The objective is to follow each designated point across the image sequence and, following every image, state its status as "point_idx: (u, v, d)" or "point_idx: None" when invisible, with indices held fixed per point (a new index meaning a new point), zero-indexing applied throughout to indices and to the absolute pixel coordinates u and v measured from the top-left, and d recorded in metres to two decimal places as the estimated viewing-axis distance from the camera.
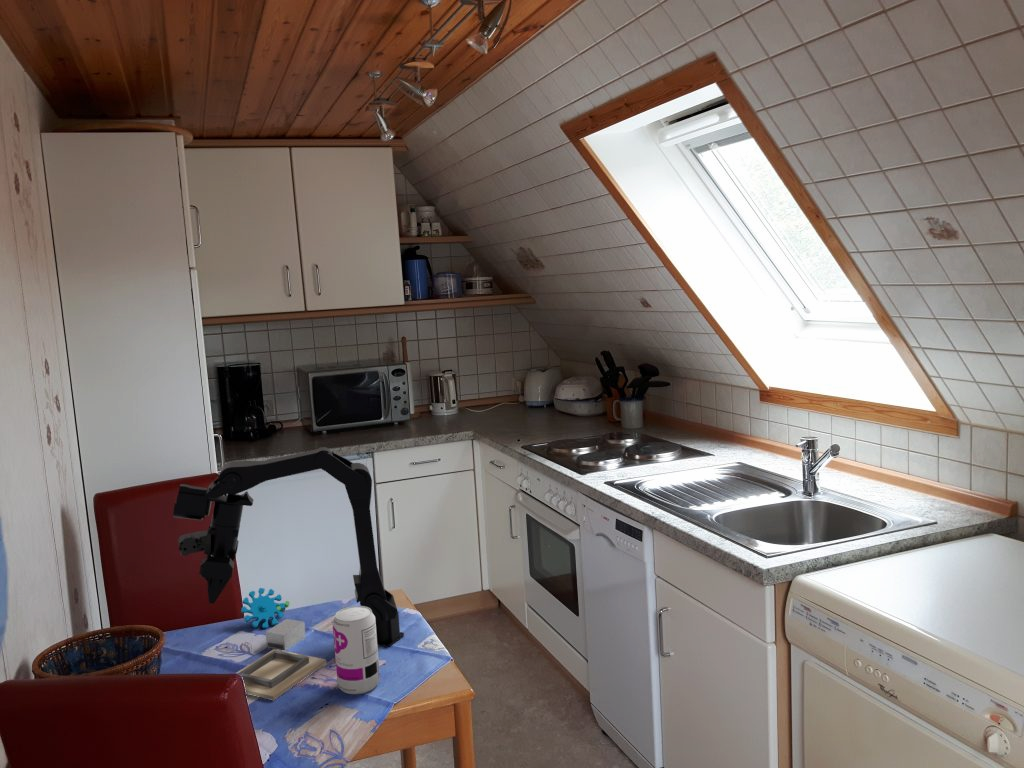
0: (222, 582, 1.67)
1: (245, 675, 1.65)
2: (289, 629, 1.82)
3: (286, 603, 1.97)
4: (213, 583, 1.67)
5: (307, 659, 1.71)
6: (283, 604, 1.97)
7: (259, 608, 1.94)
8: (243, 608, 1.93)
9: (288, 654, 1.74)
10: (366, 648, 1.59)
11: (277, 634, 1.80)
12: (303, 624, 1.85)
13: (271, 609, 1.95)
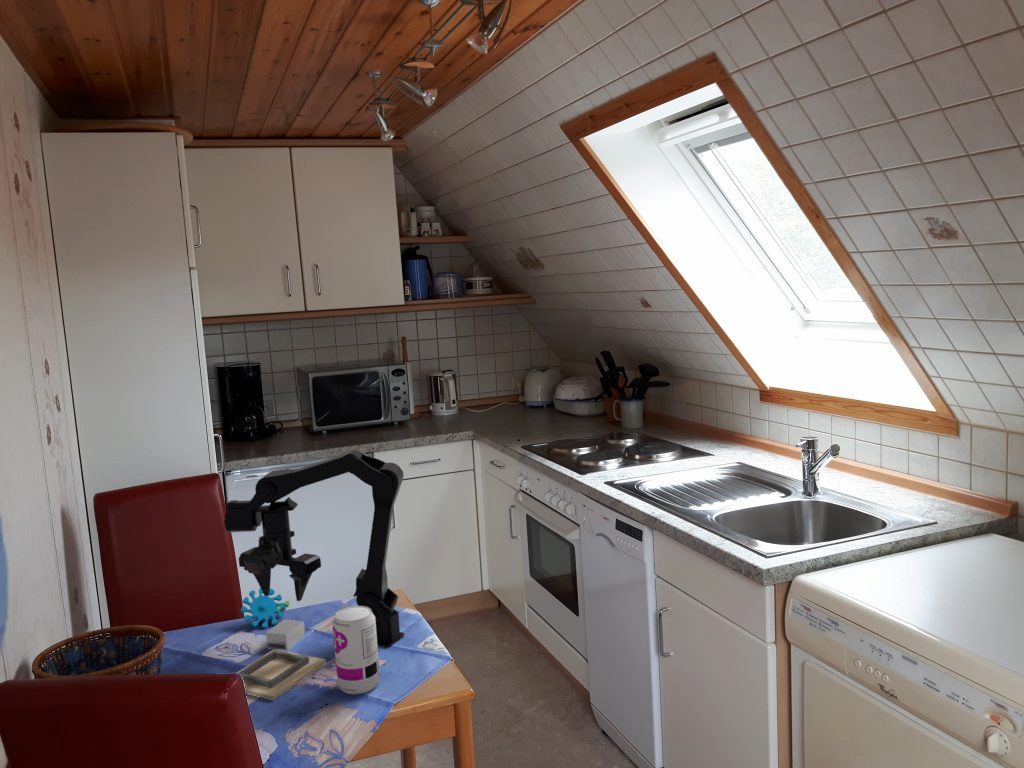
0: (307, 576, 1.81)
1: (245, 675, 1.65)
2: (290, 629, 1.82)
3: (286, 603, 1.97)
4: (301, 581, 1.79)
5: (307, 659, 1.71)
6: (283, 604, 1.97)
7: (259, 608, 1.94)
8: (243, 608, 1.93)
9: (288, 654, 1.74)
10: (366, 648, 1.59)
11: (278, 634, 1.80)
12: (302, 624, 1.86)
13: (271, 609, 1.95)
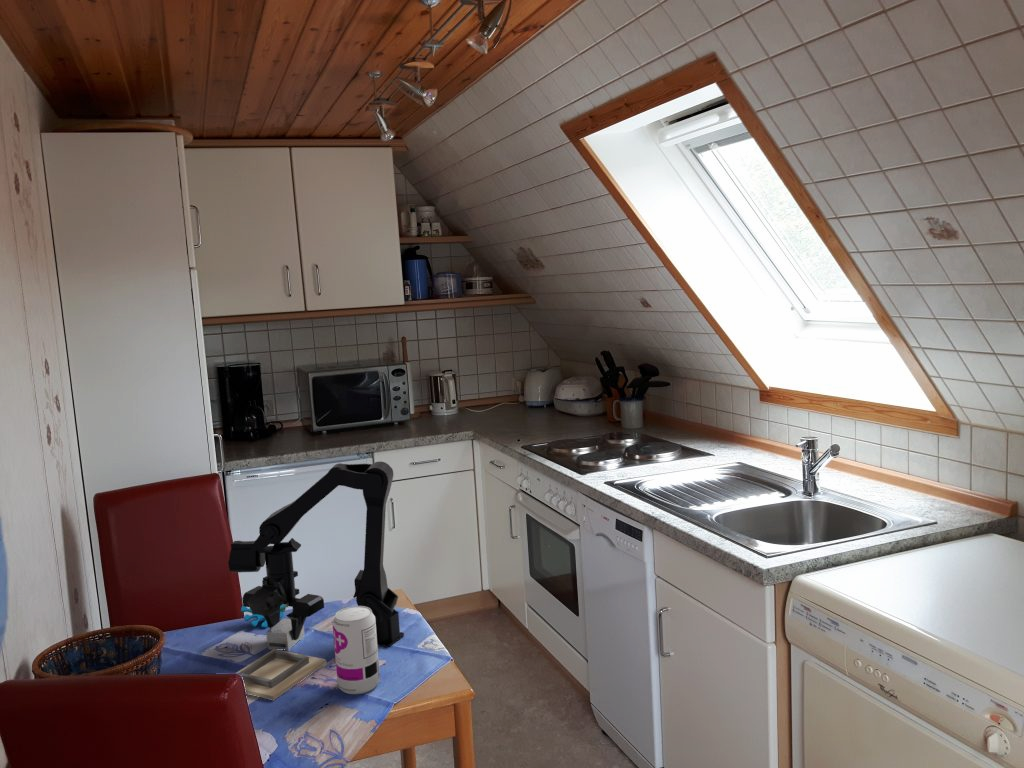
0: None
1: (245, 675, 1.65)
2: (290, 628, 1.82)
3: None
4: (298, 620, 1.81)
5: (307, 659, 1.71)
6: None
7: None
8: (243, 607, 1.93)
9: (288, 654, 1.74)
10: (366, 648, 1.59)
11: (279, 633, 1.80)
12: None
13: None
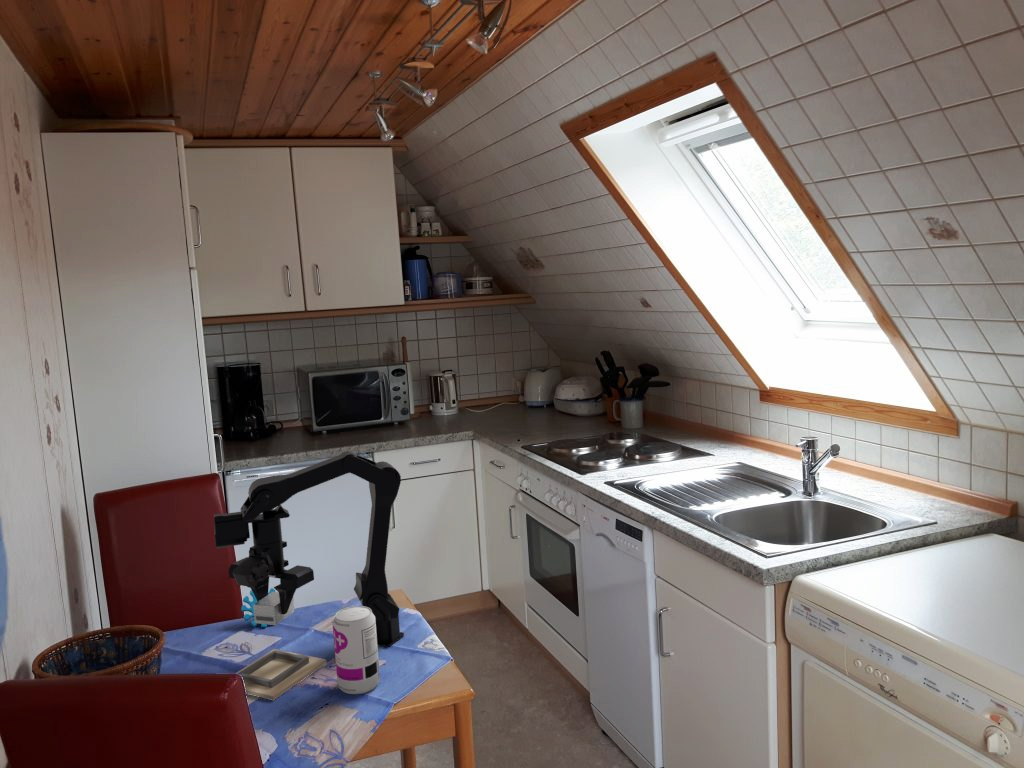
0: None
1: (245, 675, 1.65)
2: (278, 601, 1.72)
3: None
4: (286, 593, 1.71)
5: (307, 659, 1.71)
6: None
7: None
8: (243, 607, 1.93)
9: (288, 654, 1.74)
10: (366, 648, 1.59)
11: (266, 606, 1.70)
12: None
13: None
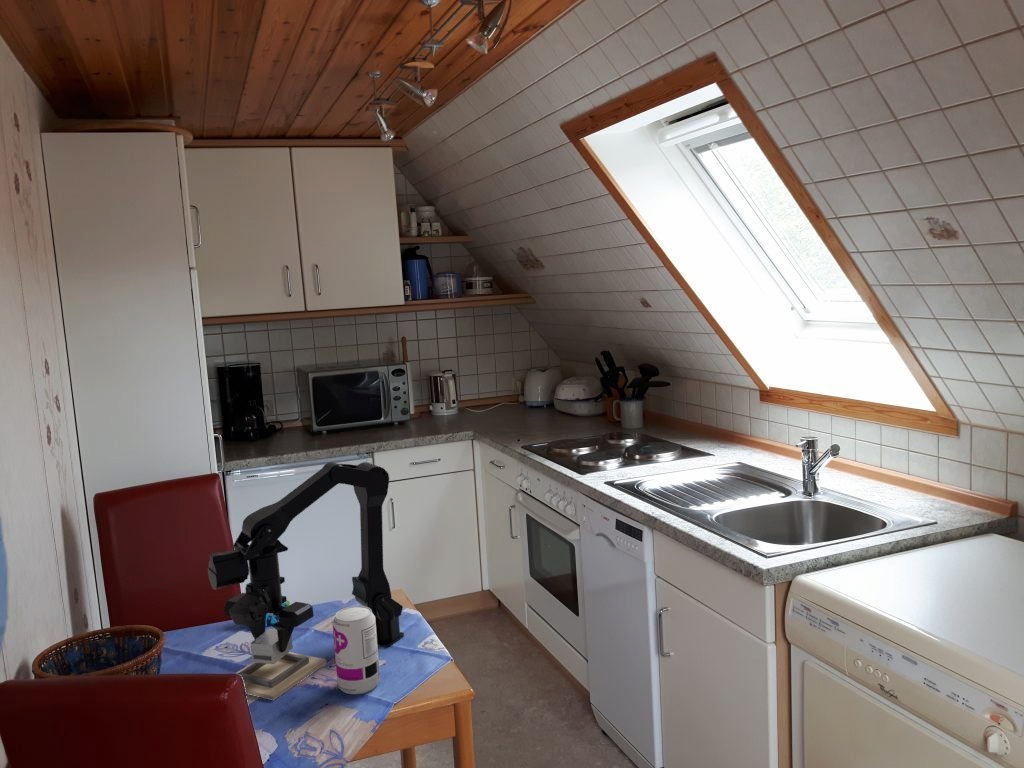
0: None
1: (245, 675, 1.65)
2: (276, 639, 1.67)
3: (286, 603, 1.98)
4: (284, 630, 1.66)
5: (307, 659, 1.71)
6: (283, 603, 1.97)
7: None
8: None
9: (288, 654, 1.74)
10: (366, 648, 1.59)
11: (264, 645, 1.64)
12: None
13: None
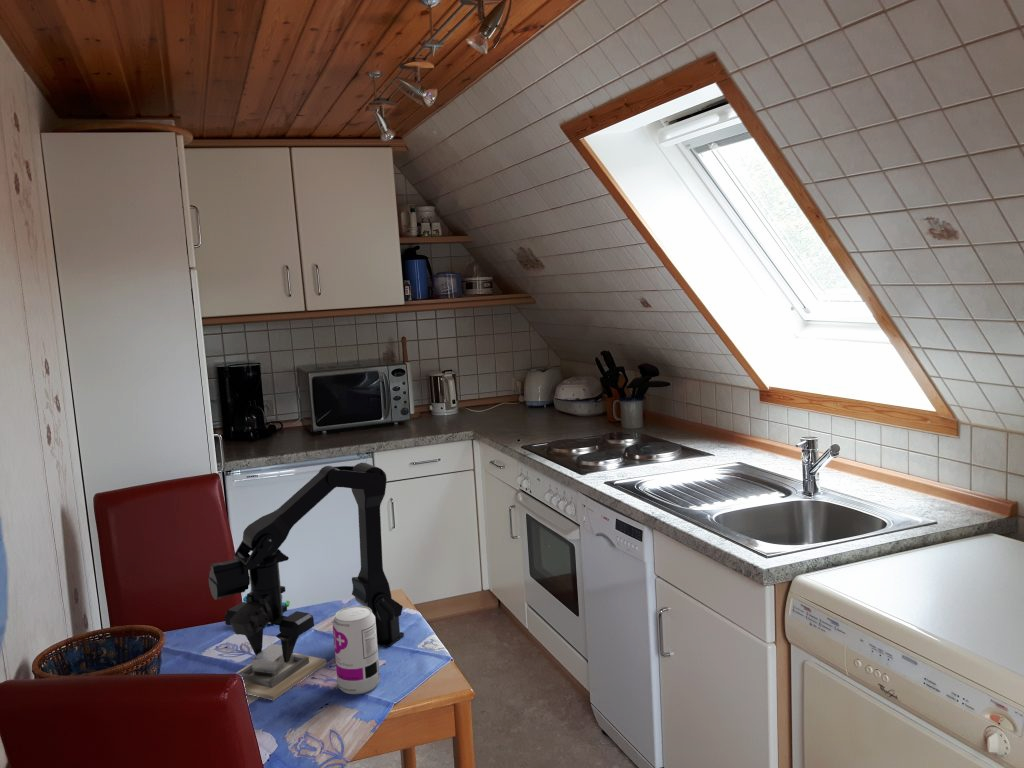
0: None
1: (245, 675, 1.65)
2: (278, 655, 1.67)
3: (286, 603, 1.98)
4: (288, 640, 1.66)
5: (307, 659, 1.71)
6: (283, 603, 1.97)
7: None
8: None
9: None
10: (366, 648, 1.59)
11: (265, 661, 1.65)
12: None
13: None
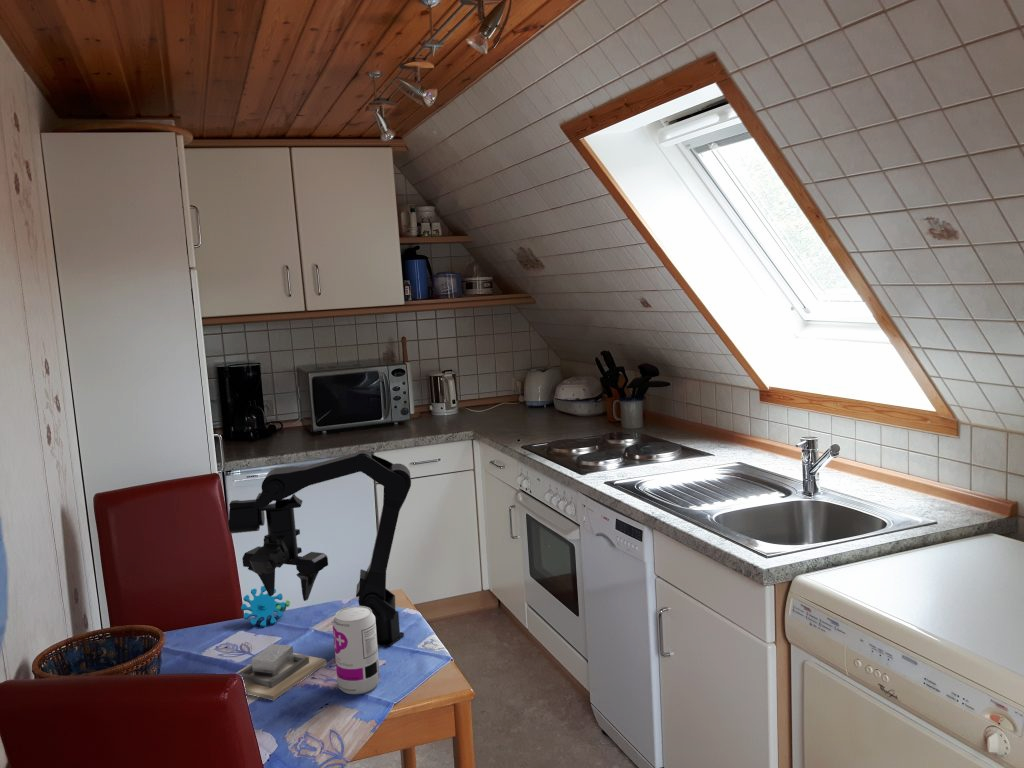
0: (314, 575, 1.77)
1: (245, 675, 1.65)
2: (278, 655, 1.67)
3: (286, 602, 1.98)
4: (307, 580, 1.76)
5: (307, 659, 1.71)
6: (283, 603, 1.97)
7: (259, 606, 1.95)
8: (243, 605, 1.94)
9: None
10: (366, 648, 1.59)
11: (265, 661, 1.65)
12: (291, 649, 1.71)
13: (271, 608, 1.96)
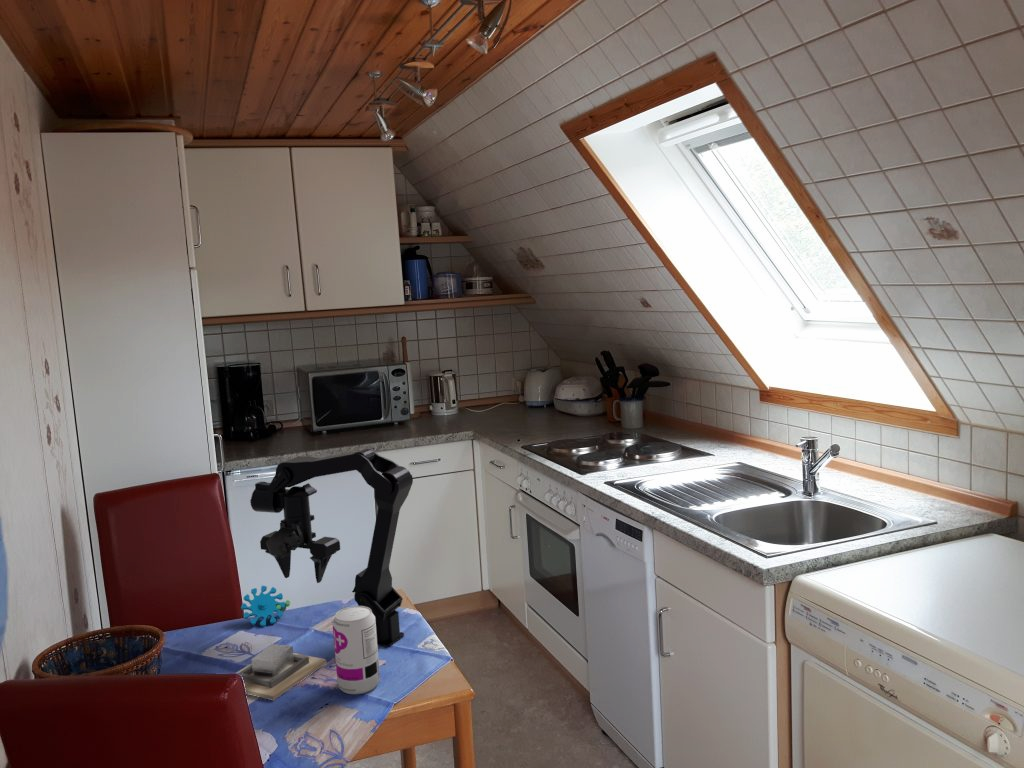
0: (327, 558, 1.87)
1: (245, 675, 1.65)
2: (278, 655, 1.67)
3: (286, 602, 1.98)
4: (320, 563, 1.85)
5: (307, 659, 1.71)
6: (283, 603, 1.97)
7: (259, 606, 1.95)
8: (243, 605, 1.95)
9: None
10: (366, 648, 1.59)
11: (265, 661, 1.65)
12: (291, 649, 1.71)
13: (271, 607, 1.96)
